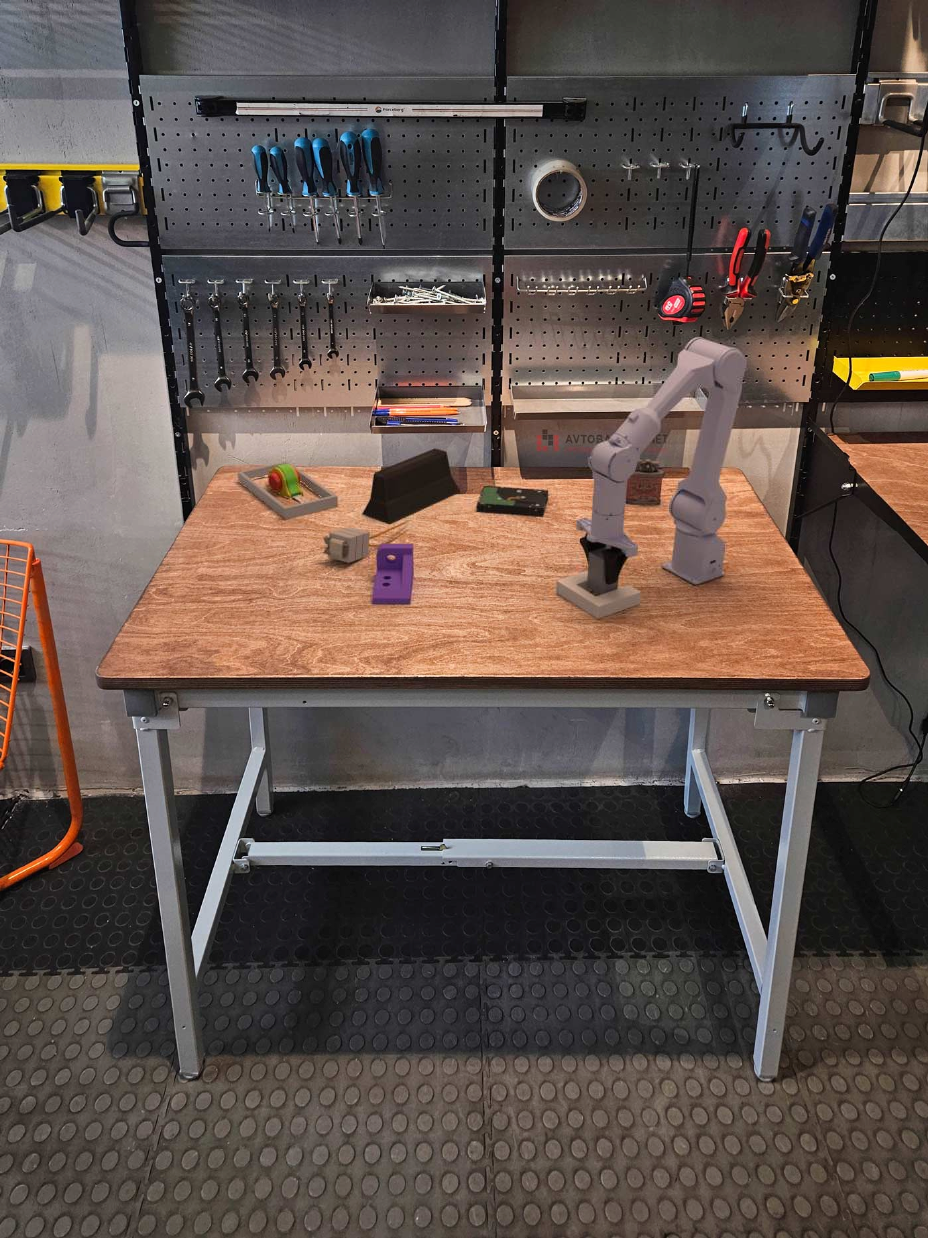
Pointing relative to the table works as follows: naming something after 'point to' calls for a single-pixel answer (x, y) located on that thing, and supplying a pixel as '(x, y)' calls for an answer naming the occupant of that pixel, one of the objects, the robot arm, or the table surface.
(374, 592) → the bracket
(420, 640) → the table surface
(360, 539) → the electrical component
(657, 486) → the lighter
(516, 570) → the table surface
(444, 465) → the barrier
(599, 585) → the tab block
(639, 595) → the notched board
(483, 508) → the disk drive
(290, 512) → the rectangular frame
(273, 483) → the toy measuring tape
